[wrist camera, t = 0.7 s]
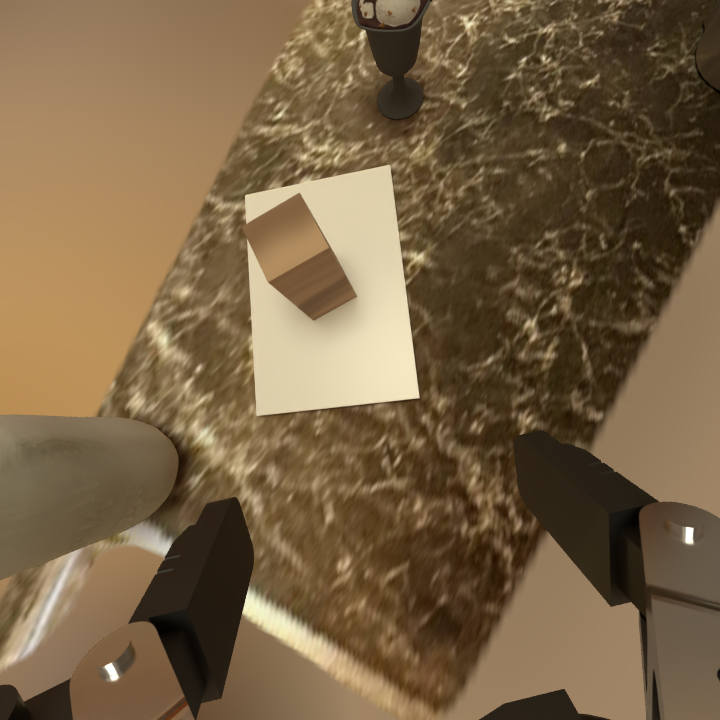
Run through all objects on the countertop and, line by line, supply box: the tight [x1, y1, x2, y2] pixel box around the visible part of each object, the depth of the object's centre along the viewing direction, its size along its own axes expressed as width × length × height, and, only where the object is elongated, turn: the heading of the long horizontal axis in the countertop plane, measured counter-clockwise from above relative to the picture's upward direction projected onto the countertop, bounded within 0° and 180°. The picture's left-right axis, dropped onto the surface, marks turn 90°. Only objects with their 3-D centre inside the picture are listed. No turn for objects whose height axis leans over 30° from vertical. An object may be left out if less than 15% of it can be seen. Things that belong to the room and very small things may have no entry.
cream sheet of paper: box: [245, 165, 419, 416], centre depth 38 cm, size 24×16×1 cm, turn 6°
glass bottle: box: [0, 415, 179, 580], centre depth 25 cm, size 10×10×28 cm
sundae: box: [352, 0, 432, 119], centre depth 33 cm, size 7×7×15 cm
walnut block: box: [242, 193, 357, 321], centre depth 32 cm, size 5×5×11 cm
